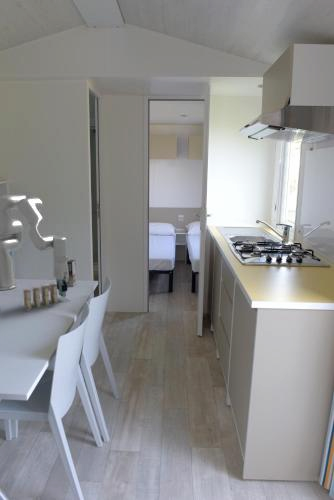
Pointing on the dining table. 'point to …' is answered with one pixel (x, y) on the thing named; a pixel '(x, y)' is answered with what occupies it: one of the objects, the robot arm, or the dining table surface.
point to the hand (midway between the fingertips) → (62, 289)
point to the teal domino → (61, 289)
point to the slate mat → (60, 300)
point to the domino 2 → (36, 297)
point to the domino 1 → (27, 299)
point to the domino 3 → (45, 295)
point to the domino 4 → (53, 293)
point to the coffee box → (71, 273)
